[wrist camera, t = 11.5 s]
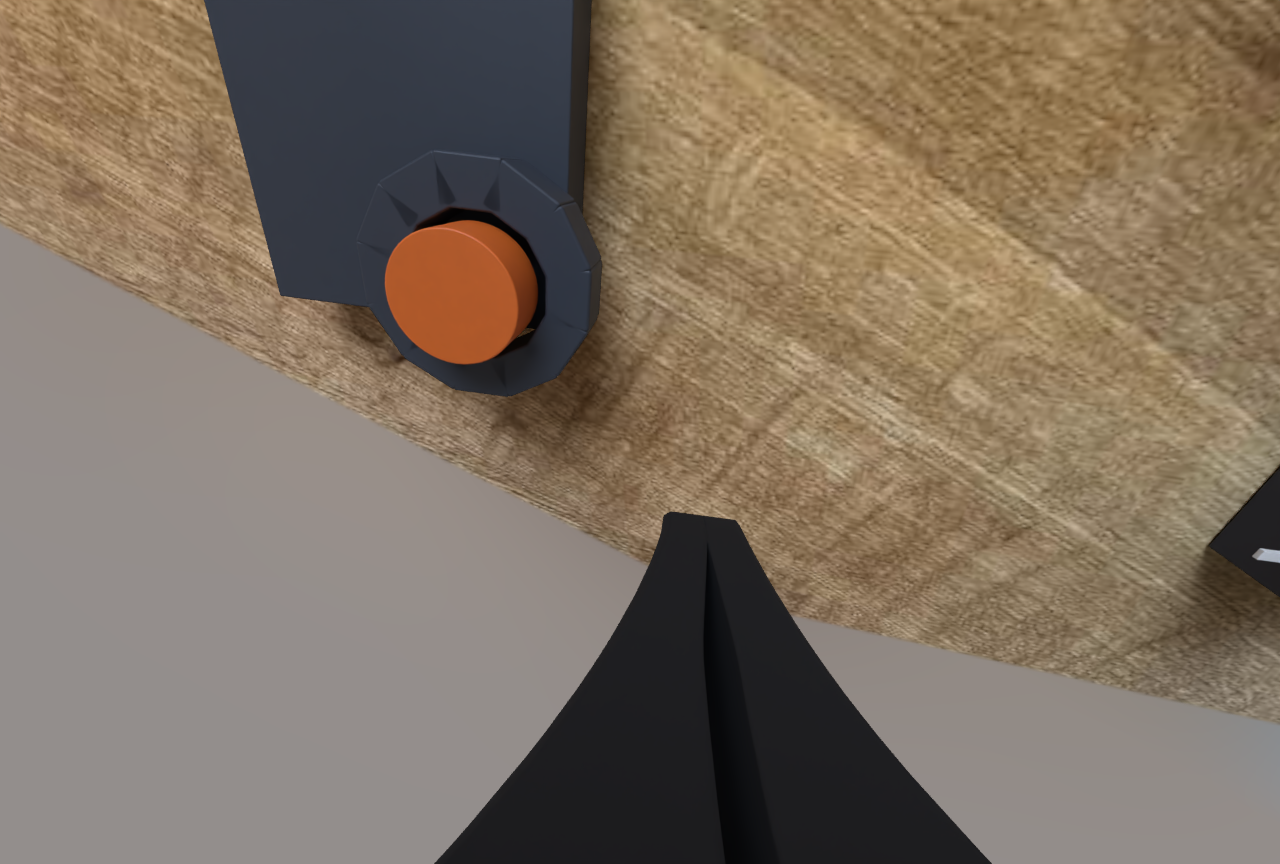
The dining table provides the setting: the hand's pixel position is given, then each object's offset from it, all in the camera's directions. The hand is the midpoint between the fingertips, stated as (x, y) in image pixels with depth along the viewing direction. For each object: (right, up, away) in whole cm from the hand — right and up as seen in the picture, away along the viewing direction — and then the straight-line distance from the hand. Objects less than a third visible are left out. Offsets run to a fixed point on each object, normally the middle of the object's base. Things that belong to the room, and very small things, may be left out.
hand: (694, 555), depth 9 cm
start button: (-5, +6, +4) cm, 9 cm away
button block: (-7, +11, +5) cm, 14 cm away
